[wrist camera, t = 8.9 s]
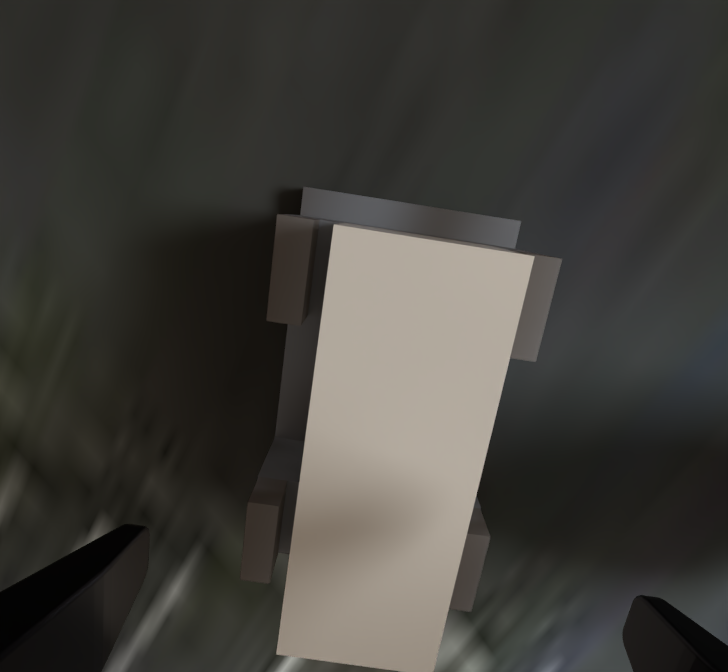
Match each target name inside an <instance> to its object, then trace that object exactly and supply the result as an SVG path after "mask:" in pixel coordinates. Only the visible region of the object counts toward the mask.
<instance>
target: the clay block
mask: <svg viewBox="0 0 728 672" xmlns="http://www.w3.org/2000/svg"><path fill="white" fill-rule="evenodd" d="M534 257H535V256H531V255H527V254H523V253H519V252H514V251H510V250H506V249H501V248H497V247H493V246H488V245H482V244H475V243H469V242H463V241H456V240H450V239H444V238H438V237H431V236H425V235H419V234H412V233H406V232H400V231H393V230H387V229H381V228H374V227H368V226H362V225H356V224H349V223H339V224H334V226H333V234H332V241H331V249H330V256H329V264H328V271H327V279H326V286H325V294H324V301H323V309H322V316H321V323H320V331H319V338H318V346H317V353H316V361H315V368H314V376H313V383H312V391H311V398H310V406H309V413H308V421H307V428H306V436H305V443H304V451H303V458H302V466H301V473H300V481H299V488H298V496H297V503H296V511H295V518H294V526H293V533H292V541H291V548H290V556H289V563H288V570H287V578H286V585H285V593H284V600H283V608H282V615H281V623H280V630H279V638H278V645H277V653H276V654H278V655H285V656H292V657H299V658H307V659H314V660H321V661H329V662H336V663H343V664H351V665H358V666H365V667H372V668H380V669H387V670H394V671H402V672H433V671H434V667H435V663H436V659H437V655H438V651H439V647H440V643H441V639H442V635H443V630H444V626H445V622H446V618H447V614H448V610H449V606H450V602H451V598H452V593H453V589H454V585H455V581H456V577H457V573H458V569H459V565H460V561H461V557H462V552H463V548H464V544H465V540H466V536H467V532H468V528H469V524H470V520H471V516H472V511H473V507H474V503H475V499H476V495H477V491H478V487H479V483H480V479H481V474H482V470H483V466H484V462H485V458H486V454H487V450H488V446H489V442H490V438H491V433H492V429H493V425H494V421H495V417H496V413H497V409H498V405H499V401H500V397H501V392H502V388H503V384H504V380H505V376H506V372H507V368H508V364H509V360H510V355H511V351H512V347H513V343H514V339H515V335H516V331H517V327H518V323H519V319H520V314H521V310H522V306H523V302H524V298H525V294H526V290H527V286H528V282H529V278H530V273H531V269H532V265H533V261H534Z"/></svg>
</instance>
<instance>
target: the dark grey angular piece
mask: <svg viewBox="0 0 728 672" xmlns="http://www.w3.org/2000/svg"><path fill="white" fill-rule="evenodd" d="M339 223H349V224H356V225H362V226H368V227H374V228H381V229H387V230H393V231H400V232H406V233H412V234H419V235H425V236H431V237H438V238H444V239H450V240H456V241H463V242H469V243H475V244H482V245H488V246H493V247H497V248H501V249H506V250H510V251H514V252H519V253H523V254H527V255H531V256H535V257H534V261H533V265H532V269H531V273H530V278H529V282H528V286H527V290H526V294H525V298H524V302H523V306H522V310H521V314H520V319H519V323H518V327H517V331H516V335H515V339H514V343H513V347H512V351H511V355H510V358H514V359H520V360H527V361H533V362H536V359H537V355H538V351H539V347H540V343H541V339H542V336H543V332H544V328H545V324H546V320H547V316H548V312H549V308H550V305H551V301H552V297H553V293H554V289H555V285H556V281H557V277H558V273H559V270H560V266H561V262H562V259H560V258H555V257H551V256H546V255H542V254H537V253H532V252H528V251H523V250H518V249H515V246H516V241H517V237H518V233H519V228H520V224H521V221H517V220H510V219H504V218H498V217H492V216H485V215H479V214H473V213H466V212H460V211H454V210H447V209H441V208H435V207H429V206H422V205H416V204H410V203H403V202H397V201H391V200H385V199H378V198H372V197H366V196H359V195H353V194H347V193H340V192H334V191H328V190H322V189H315V188H309V187H303V196H302V204H301V213H300V215H290V214H277V221H276V231H275V241H274V250H273V260H272V270H271V280H270V290H269V299H268V309H267V319H266V321H271V322H277V323H284V324H288V327H287V336H286V344H285V353H284V362H283V371H282V379H281V388H280V397H279V406H278V414H277V423H276V432H275V438H274V440H273V442H272V445H271V447H270V449H269V452H268V454H267V456H266V458H265V461H264V463H263V465H262V467H261V470H260V472H259V474H258V476H257V482H256V484H255V487H254V489H253V491H252V494H251V496H250V498H249V500H248V505H247V515H246V524H245V534H244V544H243V554H242V564H241V573H240V580H246V581H253V582H260V583H268V584H270V580H271V576H272V573H273V569H274V566H275V562H276V558H277V555H278V552H279V553H286V554H290V548H291V541H292V533H293V526H294V518H295V511H296V503H297V496H298V488H299V481H300V473H301V466H302V458H303V451H304V443H305V436H306V428H307V421H308V413H309V406H310V398H311V391H312V383H313V376H314V368H315V361H316V353H317V346H318V338H319V331H320V323H321V316H322V309H323V301H324V294H325V286H326V279H327V271H328V264H329V256H330V249H331V241H332V234H333V226H334V224H339ZM489 541H490V534H489V531H488V529H487V526H486V523H485V521H484V518H483V515H482V512H481V506H480V504H479V501H478V498H477V496H476V499H475V503H474V507H473V511H472V516H471V520H470V524H469V528H468V532H467V536H466V540H465V544H464V548H463V552H462V557H461V561H460V565H459V569H458V573H457V577H456V581H455V585H454V589H453V593H452V598H451V602H450V606H449V609H454V610H461V611H468V612H471V611H472V607H473V603H474V599H475V595H476V592H477V588H478V584H479V580H480V576H481V572H482V568H483V564H484V561H485V557H486V553H487V549H488V545H489Z"/></svg>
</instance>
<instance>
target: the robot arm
mask: <svg viewBox="0 0 728 672" xmlns="http://www.w3.org/2000/svg"><path fill="white" fill-rule="evenodd" d="M149 536H150V534H149V529H148V528H147V527H146V526H140V525H133V524H124V525H122V526H120V527H118V528H116V529H114V530H112V531H111V532H109V533H107V534H105V535H103V536H102V537H100V538H98V539H96V540H94V541H92V542H91V543H89V544H87V545H85V546H83V547H81V548H80V549H78V550H76V551H74V552H72V553H70V554H69V555H67V556H65V557H63V558H61V559H60V560H58V561H56V562H54V563H52V564H50V565H49V566H47V567H45V568H43V569H41V570H39V571H38V572H36V573H34V574H32V575H30V576H28V577H27V578H25V579H23V580H21V581H19V582H17V583H16V584H14V585H12V586H10V587H8V588H7V589H5V590H3V591H1V592H0V672H101V671H102V669H103V667H104V665H105V663H106V661H107V659H108V657H109V655H110V653H111V651H112V648H113V646H114V644H115V642H116V640H117V638H118V635H119V633H120V631H121V629H122V627H123V625H124V622H125V620H126V618H127V616H128V614H129V612H130V609H131V607H132V605H133V603H134V601H135V599H136V596H137V594H138V592H139V590H140V588H141V586H142V583H143V581H144V579H145V576H146V573H147V569H148V560H149ZM623 643H624V646H625V649H626V652H627V655H628V658H629V660H630V663H631V666H632V669H633V671H634V672H728V646H727V645H726V644H725V643H723V642H722V641H720V640H719V639H718V638H716V637H715V636H713V635H712V634H711V633H709V632H708V631H706V630H705V629H704V628H702V627H701V626H699V625H698V624H697V623H695V622H694V621H693V620H691V619H690V618H688V617H687V616H686V615H684V614H683V613H681V612H680V611H679V610H677V609H676V608H674V607H673V606H672V605H670V604H669V603H667V602H666V601H665V600H663V599H661V598H658V597H651V596H644V595H640V596H637V597H636V598H635V599H634V601H633V603H632V606H631V608H630V611H629V614H628V617H627V620H626V622H625V625H624V628H623Z"/></svg>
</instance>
